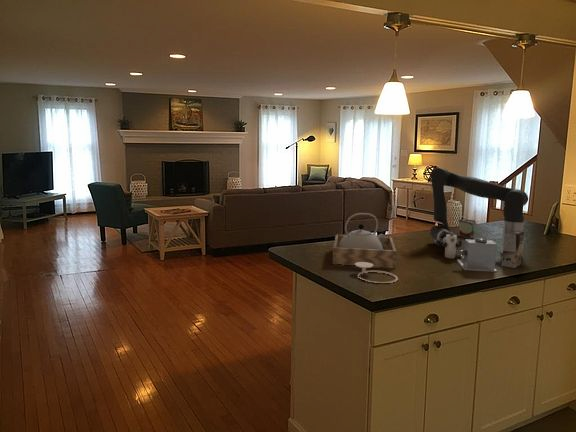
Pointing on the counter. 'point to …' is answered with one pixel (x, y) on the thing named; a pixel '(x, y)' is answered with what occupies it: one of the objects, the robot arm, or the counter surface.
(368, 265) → the hand towel holder
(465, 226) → the food container
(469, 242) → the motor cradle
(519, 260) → the coffee box
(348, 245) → the kettle
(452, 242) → the white bottle
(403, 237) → the counter surface
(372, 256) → the kettle caddy
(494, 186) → the robot arm
